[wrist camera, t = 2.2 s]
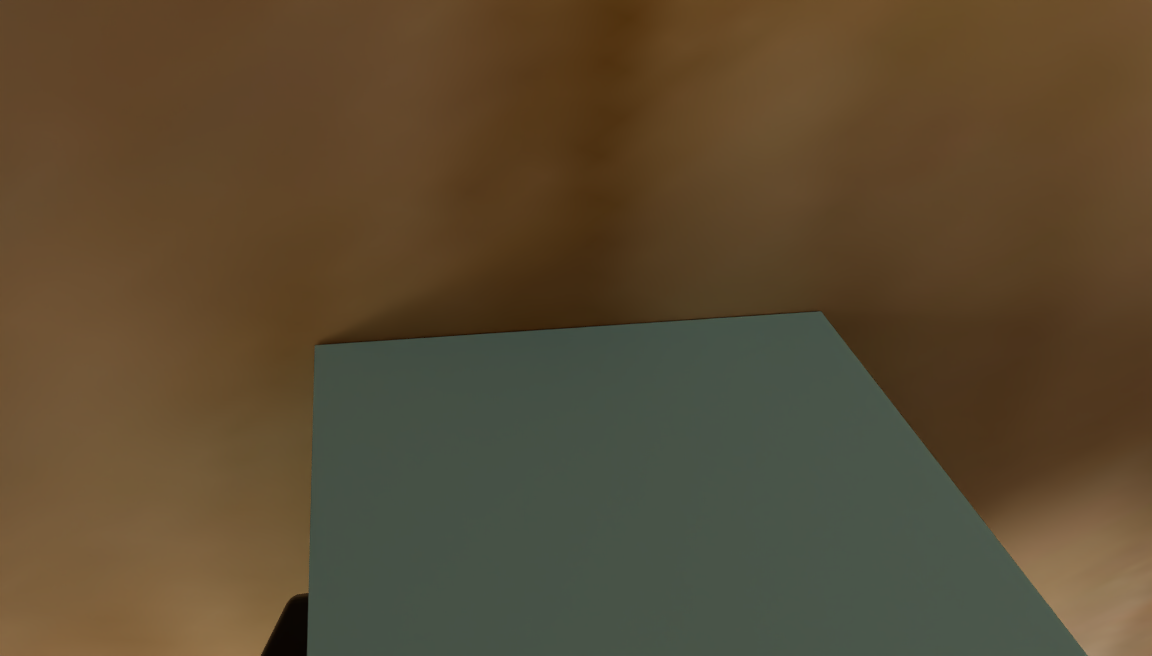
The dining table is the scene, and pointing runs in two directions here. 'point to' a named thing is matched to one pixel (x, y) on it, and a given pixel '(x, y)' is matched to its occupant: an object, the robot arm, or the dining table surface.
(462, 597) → the teal block
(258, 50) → the dining table surface
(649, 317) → the dining table surface
